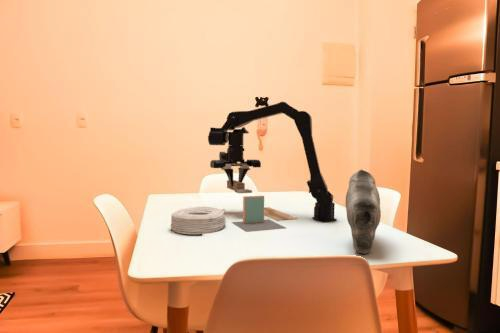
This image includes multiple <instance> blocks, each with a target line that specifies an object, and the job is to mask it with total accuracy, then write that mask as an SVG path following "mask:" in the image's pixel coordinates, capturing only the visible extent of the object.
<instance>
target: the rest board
mask: <svg viewBox="0 0 500 333" xmlns="http://www.w3.org/2000/svg"><path fill="white" fill-rule="evenodd" d="M264 216H266V217H268V218H269V219H270V218H271V219H272V220H274V221H278V222H280V221H291V220H292V221H293V220H298V218H297V217H295V216H292V215H290V214H287V213H284V212H283V211H280V210H277V209H274V208H272V207H270V206H267V207H265V206H264Z"/></svg>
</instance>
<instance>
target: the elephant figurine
mask: <svg viewBox="0 0 500 333" xmlns="http://www.w3.org/2000/svg"><path fill="white" fill-rule="evenodd" d="M345 211H346V219H347V222H348V224H349V227H350V229H351V230H350V231H351V238H352V247H353V249H354V250H355V252H357V253H358V254H363V255H366V254H369V253H371V251H372V249H373V247H374V241H375V236H376V231H377V228H378V226H379V224H380V223H381V216H382V215H381V212H382V211H381V198H380V193H379V190H378V188H377V184H376V180H375V177H374V176H373V174H371V173H370V172H368V171H366V170H363V169H362V168H361V169H359V170H357V171H356V172H354V173H353V174H352V175H351V176H350V178H349V182H348V188H347V192H346V195H345Z"/></svg>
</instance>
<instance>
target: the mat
mask: <svg viewBox="0 0 500 333" xmlns="http://www.w3.org/2000/svg"><path fill="white" fill-rule="evenodd" d="M231 224H233V225H234V226H236V227H237V228H239V229H241V230H242V231H244V232H246V233H250V232H259V231H260V232H262V231H270V230H271V231H273V230H283V229H287V227H286V226H283V225H281V224H280V223H277V222H275V221H273V220H271V219H270V218H269V219H264V222H262V223H250V224H244V223H243V220H242V221H232V222H231Z"/></svg>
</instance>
